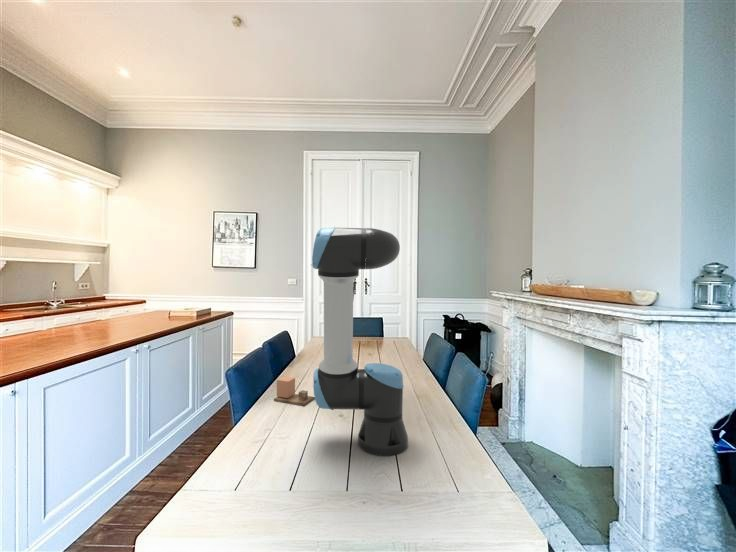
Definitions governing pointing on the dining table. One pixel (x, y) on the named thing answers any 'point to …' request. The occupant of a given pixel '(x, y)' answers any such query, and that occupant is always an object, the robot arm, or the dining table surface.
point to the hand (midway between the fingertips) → (347, 323)
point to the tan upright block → (285, 387)
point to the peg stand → (297, 399)
